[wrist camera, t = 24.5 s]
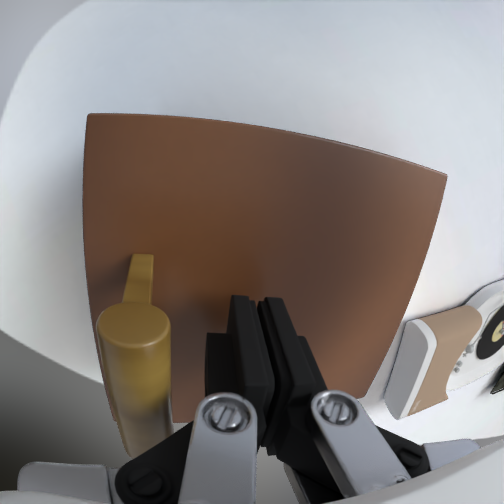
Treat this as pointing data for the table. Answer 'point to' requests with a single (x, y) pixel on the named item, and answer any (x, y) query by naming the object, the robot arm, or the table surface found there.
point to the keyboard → (498, 385)
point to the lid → (240, 252)
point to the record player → (447, 352)
